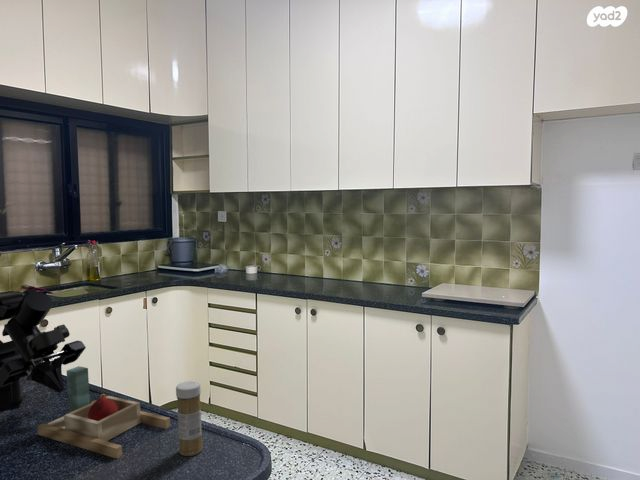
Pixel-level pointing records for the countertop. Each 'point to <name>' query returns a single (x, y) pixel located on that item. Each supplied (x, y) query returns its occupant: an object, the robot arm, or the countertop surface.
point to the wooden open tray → (81, 406)
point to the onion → (102, 408)
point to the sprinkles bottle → (189, 418)
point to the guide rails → (95, 443)
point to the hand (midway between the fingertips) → (61, 391)
